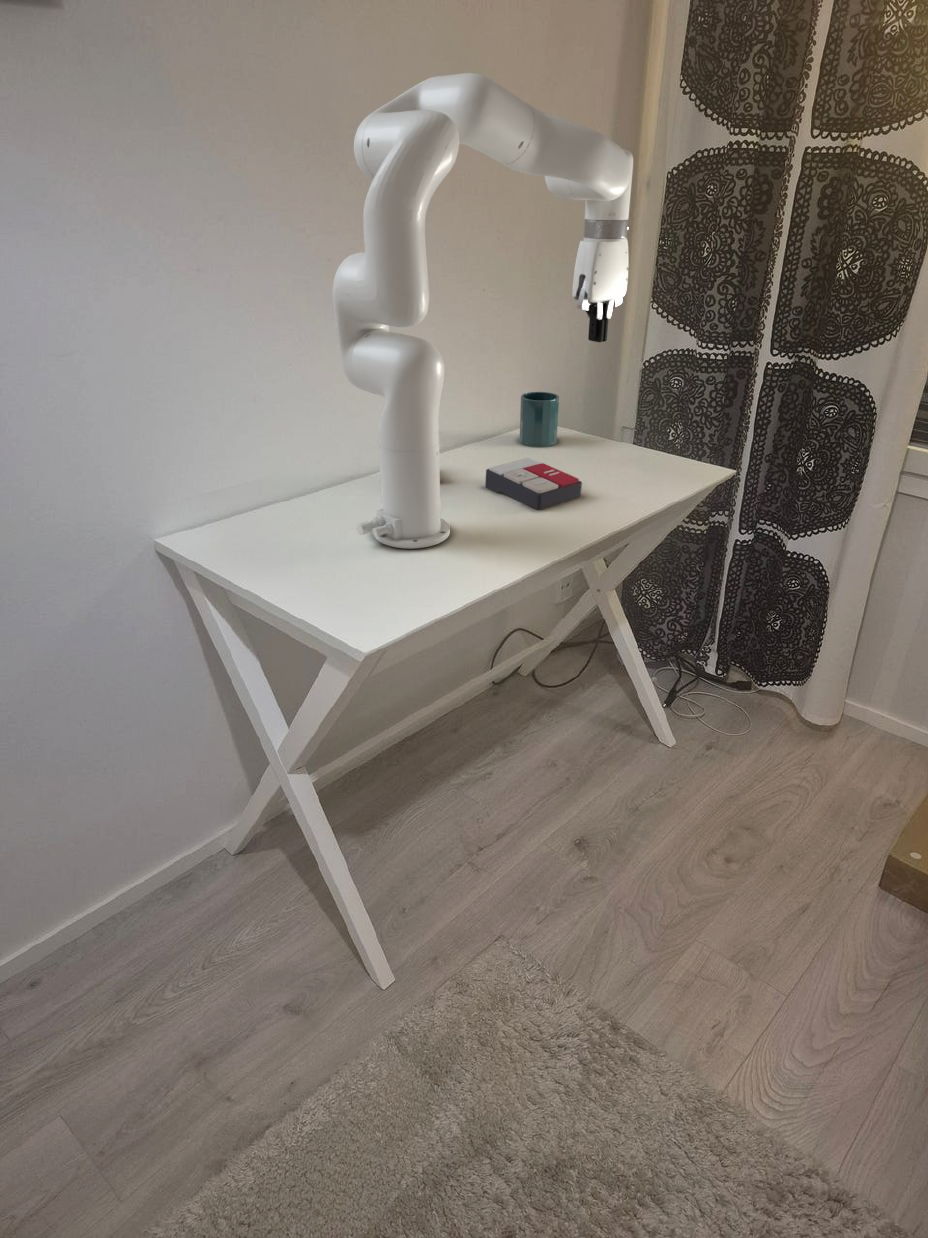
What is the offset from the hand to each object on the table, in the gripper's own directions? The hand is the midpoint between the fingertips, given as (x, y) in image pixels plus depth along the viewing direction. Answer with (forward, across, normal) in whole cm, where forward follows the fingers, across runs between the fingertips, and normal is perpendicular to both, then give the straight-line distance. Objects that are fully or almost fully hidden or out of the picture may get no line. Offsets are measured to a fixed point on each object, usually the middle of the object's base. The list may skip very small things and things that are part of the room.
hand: (597, 340), depth 149 cm
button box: (+25, +17, +2) cm, 31 cm away
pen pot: (+25, -6, -21) cm, 33 cm away
